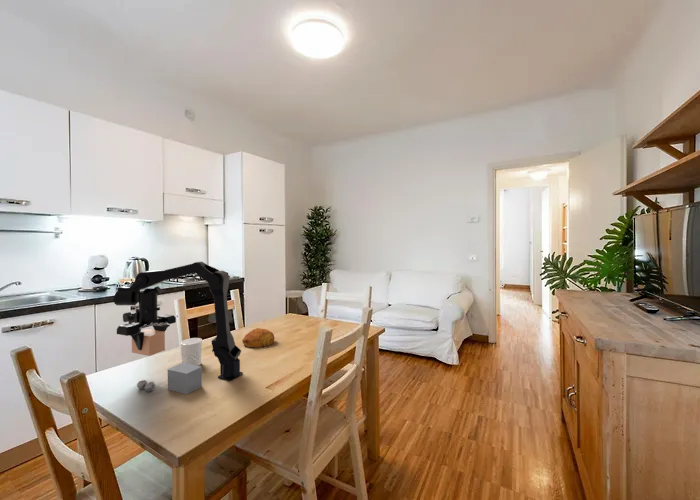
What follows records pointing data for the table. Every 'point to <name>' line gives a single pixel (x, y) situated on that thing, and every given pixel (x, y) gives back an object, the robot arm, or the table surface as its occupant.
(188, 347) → the white cup
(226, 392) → the table surface
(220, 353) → the robot arm
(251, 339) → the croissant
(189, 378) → the pale grey box
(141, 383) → the marble
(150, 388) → the marble
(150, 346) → the peach rectangular block
